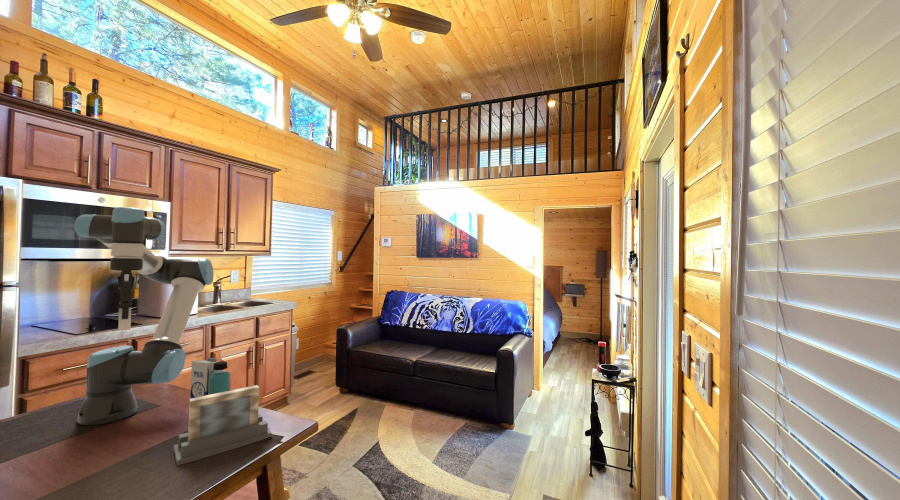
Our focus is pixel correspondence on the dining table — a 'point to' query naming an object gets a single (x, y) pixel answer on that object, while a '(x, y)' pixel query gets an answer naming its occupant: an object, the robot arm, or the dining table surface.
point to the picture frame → (222, 412)
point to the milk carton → (201, 377)
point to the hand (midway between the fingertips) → (124, 326)
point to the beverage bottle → (219, 378)
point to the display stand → (219, 442)
